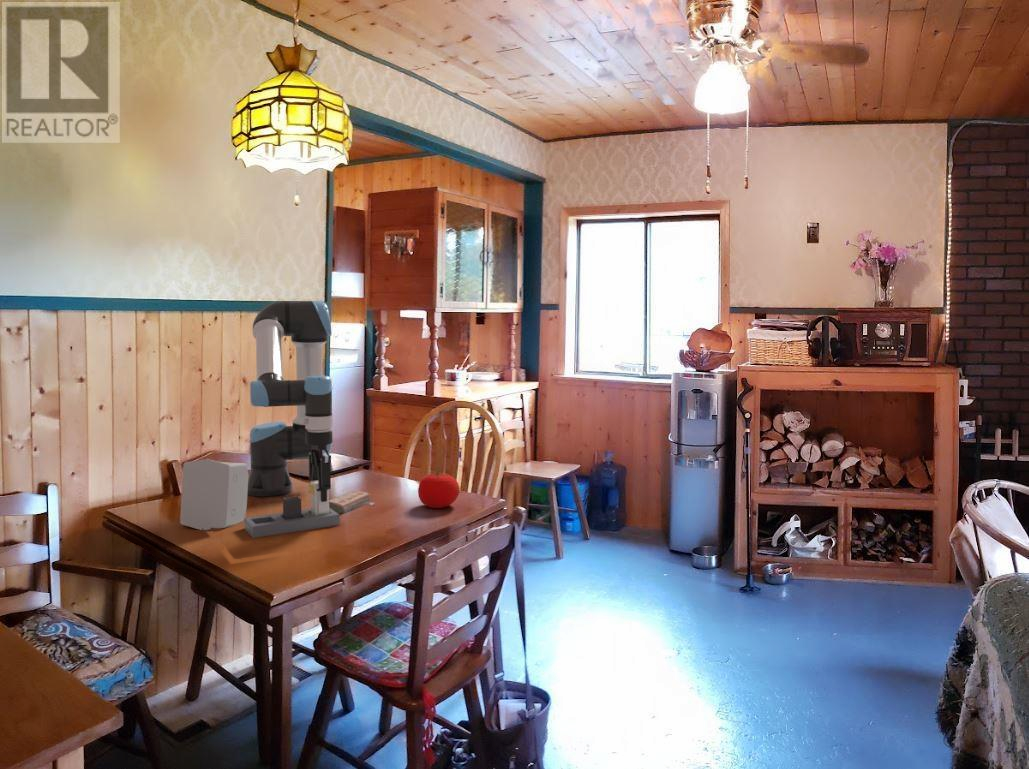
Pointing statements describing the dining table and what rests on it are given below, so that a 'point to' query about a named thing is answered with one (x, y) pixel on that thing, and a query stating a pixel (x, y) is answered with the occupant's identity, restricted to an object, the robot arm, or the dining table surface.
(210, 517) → the electrical switch box
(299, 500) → the dark grey block
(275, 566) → the dining table surface
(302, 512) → the socket strip
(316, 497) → the plug
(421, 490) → the tomato
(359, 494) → the packaged product
